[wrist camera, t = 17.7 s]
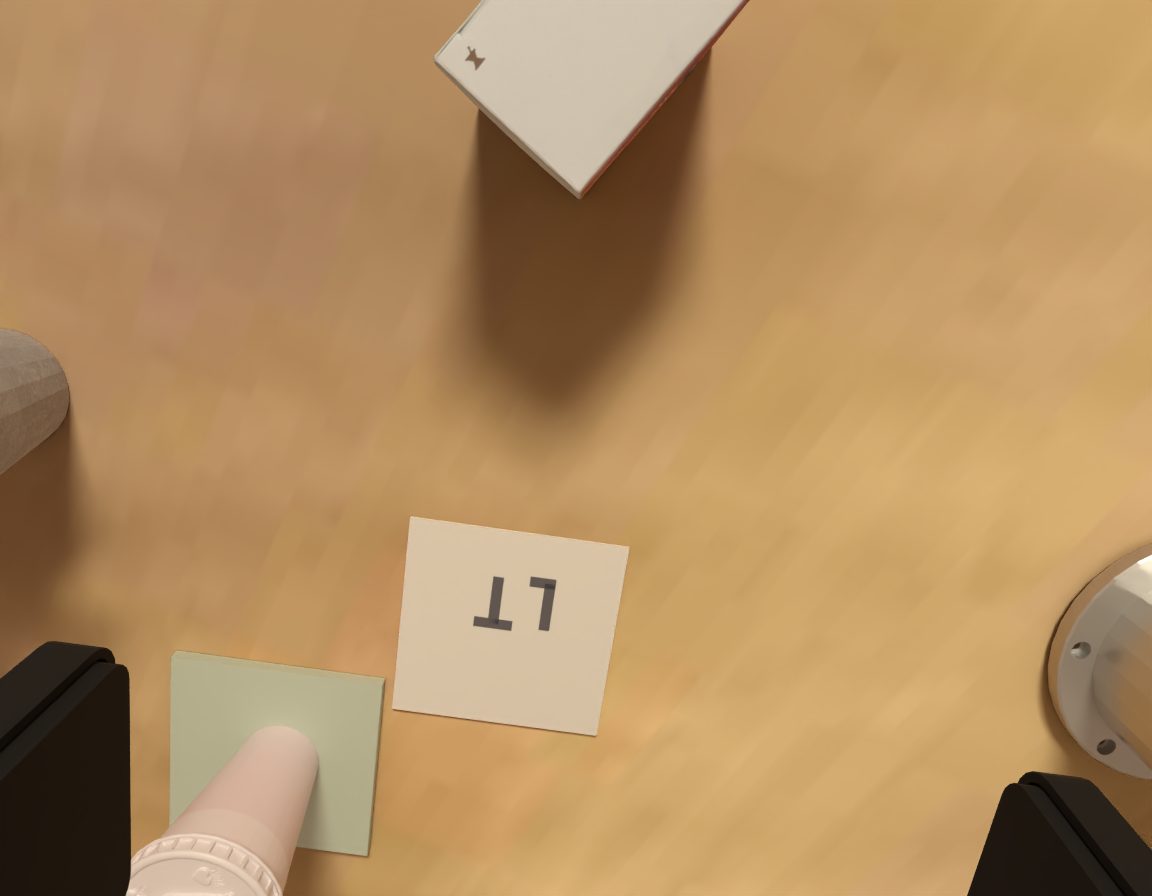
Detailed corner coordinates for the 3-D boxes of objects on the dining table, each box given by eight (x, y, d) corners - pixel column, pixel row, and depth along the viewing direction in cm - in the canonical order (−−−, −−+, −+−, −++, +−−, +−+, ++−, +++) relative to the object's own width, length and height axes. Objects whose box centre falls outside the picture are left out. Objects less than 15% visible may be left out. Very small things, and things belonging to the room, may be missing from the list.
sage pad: (385, 678, 41) (382, 685, 40) (369, 847, 44) (367, 856, 43) (176, 650, 40) (171, 656, 40) (175, 822, 43) (169, 830, 43)
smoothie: (190, 733, 41) (-5, 993, 28) (300, 680, 40) (155, 923, 27) (263, 831, 43) (113, 1122, 29) (371, 782, 42) (267, 1060, 28)
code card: (629, 546, 39) (629, 548, 38) (596, 733, 41) (596, 736, 41) (410, 516, 38) (410, 517, 38) (393, 706, 41) (392, 709, 41)
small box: (579, 202, 34) (576, 204, 24) (474, 103, 33) (424, 62, 23) (718, 41, 33) (777, -28, 23) (612, -69, 32) (623, -193, 22)
